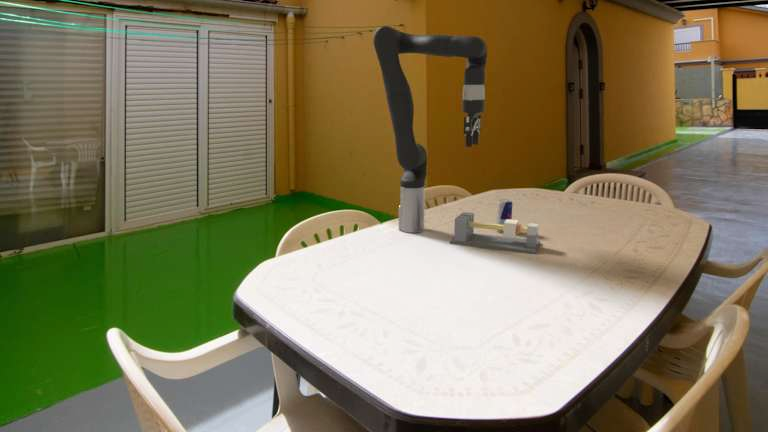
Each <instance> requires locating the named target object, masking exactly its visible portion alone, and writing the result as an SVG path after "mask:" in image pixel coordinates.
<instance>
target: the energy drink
mask: <svg viewBox="0 0 768 432" xmlns="http://www.w3.org/2000/svg"><path fill="white" fill-rule="evenodd" d="M496 214H497V216H496V224H499V225H504V222H505V221H506V220H507V219H510V220H513V219H512V217H513V200H512V199H506V198H505V199H498V202H497V211H496ZM496 232H497V233H499V234H503V231H502V230H496Z"/></svg>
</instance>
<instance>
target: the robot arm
mask: <svg viewBox="0 0 768 432" xmlns="http://www.w3.org/2000/svg"><path fill="white" fill-rule="evenodd" d="M373 47H374V50H375V53H376V56H377V59H378V63H379V66H380V71H381V76H382V81H383V86H384V90H385V91H384V92H385V97H386V101H387V107H388V110H389V116H390V120H391V124H392V129H393V134H394V140H395V149H396V158H397V162H398V164H399V165H400V166H401V168H403V173H402V176H401V178H400V180H399V181H400V205H399V206H398V231H402V232H404V233H410V234H413V233H420V232H423V231H424V230H425V203H426V201H425V194H426V193H425V189H426V188H425V184H426V179H427V172H428V171H427V169H428V168H427V166H428V153H427V150H426V148H425V147H424V146H423V145H422V144H420V143H417V142H416V138H415V133H414V115H415V113H414V112H415V110H414V109H415V107H414V106H415V105H414V100H413V99H414V98H413V94H412V90H411V87H410V84H409V81H408V80H407V77H406V75H405V73H404V71H403V69H402V65H401V63H400V56H399V55H402V54H421V55H429V56H434V57H444V58H445V57H446V58H455V57H456V58H465V59H466V67H465V69H464V72H463V73H464V75H463V88H462V105H461V106H462V109H461V111H462V113H463V114H465V113H466V114H467V116H464V117H463V135H464V136H465V147H466V148H472V147H473V145H479V140H480V138H479V137H480V133H481V131H482V129H481V127H482V115H481V114H482V113H484V112H485V97H486V91H485V77H486V75H485V71H486V64H487V59H488V58H487V57H488V56H487V55H488V46H487V43H486V41H485V40H484V39H482V38H481V37H478V36H473V35H459V36H458V35H457V36H456V35H448V34H413V33H412V34H410V33H407V32H403V31H400V30H398V29H397V28H394V27H391V26H389V25H382V26H380V27H378V28H376V30H375V32H374V34H373Z"/></svg>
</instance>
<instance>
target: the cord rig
mask: <svg viewBox="0 0 768 432" xmlns="http://www.w3.org/2000/svg"><path fill="white" fill-rule="evenodd" d="M539 225H540V224H539V223H531V222H529V223H528V225H527V227H526V226H522V224H521V223H518V226H517V227H516V232H517V234H518V235H520V234H521V233H523V234H526V238H525V239H526V247H534V248H535V247H536V245H537V242H538V239H539ZM474 228H476V229H485V230H486V229H487V230H492V231H493V230H494V231H497V230H502V231H504V225H499V224H497V223H489V222H487V223H486V222H476V221H475V212H470V211H462V212H461V213H460V214H459V215H458V216H456V217H455V218H454V233H453V234H454V236H453V237H454V241H461V242H466V241H467V240H468V239H469V238H470V237H471V236H472V235H473V233H475V232H474V231H475V230H474Z"/></svg>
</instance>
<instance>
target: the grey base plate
mask: <svg viewBox="0 0 768 432" xmlns="http://www.w3.org/2000/svg"><path fill="white" fill-rule="evenodd" d="M526 239H527V238H520V237H519V238H518V237H516V238H509V237H503V235H493V234H492V235H491V234H483V233H475V232H473V235H472V236H471V237H470V238H469V239H468V240H467V241H466V242H461V241H454V236H453V237H452V238H451V239H449V244H453V245H459V246H460V245H461V246H469V247H476V248H477V247H478V248H483V249H491V250H492V249H493V250H501V251H509V252H515V253H516V252H517V253H526V254H533V255H535V254H536V253H537V251H538V249H539V247H540V244H541V240H538V242H537V245H536V247H535V248H534V247H526Z"/></svg>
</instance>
